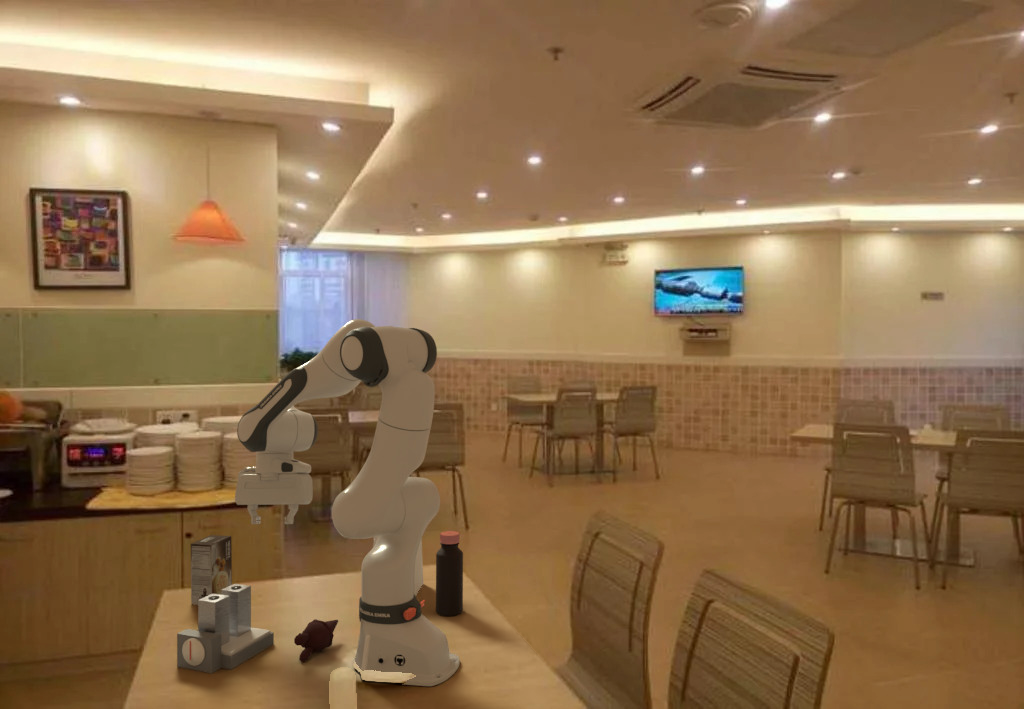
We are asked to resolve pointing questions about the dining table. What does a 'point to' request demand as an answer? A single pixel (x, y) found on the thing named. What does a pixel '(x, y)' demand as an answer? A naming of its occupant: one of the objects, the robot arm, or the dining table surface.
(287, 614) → the dining table surface
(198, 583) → the coffee box
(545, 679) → the dining table surface
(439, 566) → the bottle
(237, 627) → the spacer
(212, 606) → the post
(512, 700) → the dining table surface
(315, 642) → the icecream
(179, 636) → the scale
